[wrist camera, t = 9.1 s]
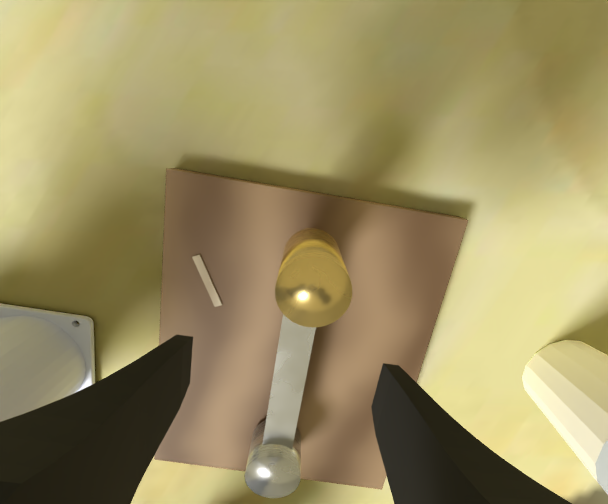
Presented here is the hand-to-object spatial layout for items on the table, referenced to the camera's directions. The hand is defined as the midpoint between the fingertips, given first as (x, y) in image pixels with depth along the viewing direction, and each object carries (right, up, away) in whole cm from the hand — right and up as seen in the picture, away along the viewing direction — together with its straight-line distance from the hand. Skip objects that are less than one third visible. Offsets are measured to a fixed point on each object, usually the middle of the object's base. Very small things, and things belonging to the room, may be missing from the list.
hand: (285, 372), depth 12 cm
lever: (0, -2, +9) cm, 10 cm away
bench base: (0, -2, +11) cm, 11 cm away
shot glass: (+20, -4, +12) cm, 23 cm away
